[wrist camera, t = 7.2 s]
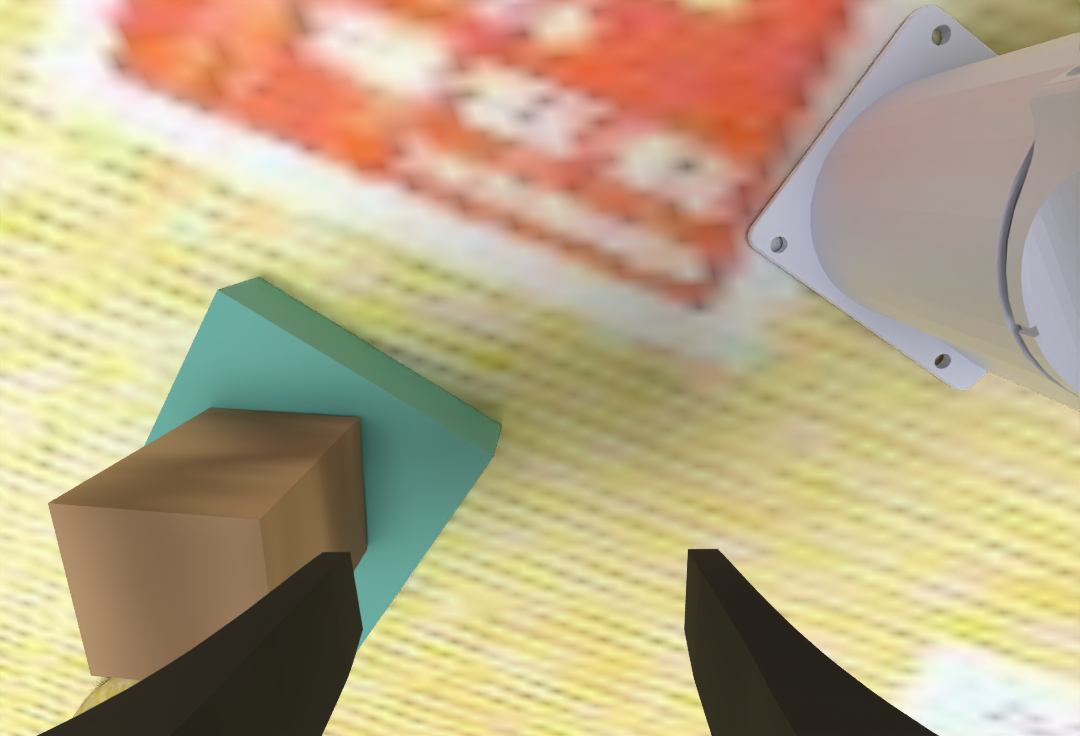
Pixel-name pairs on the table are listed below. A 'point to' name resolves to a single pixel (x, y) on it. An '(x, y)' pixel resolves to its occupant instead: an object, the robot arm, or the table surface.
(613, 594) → the table surface
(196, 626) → the walnut block
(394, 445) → the teal base
